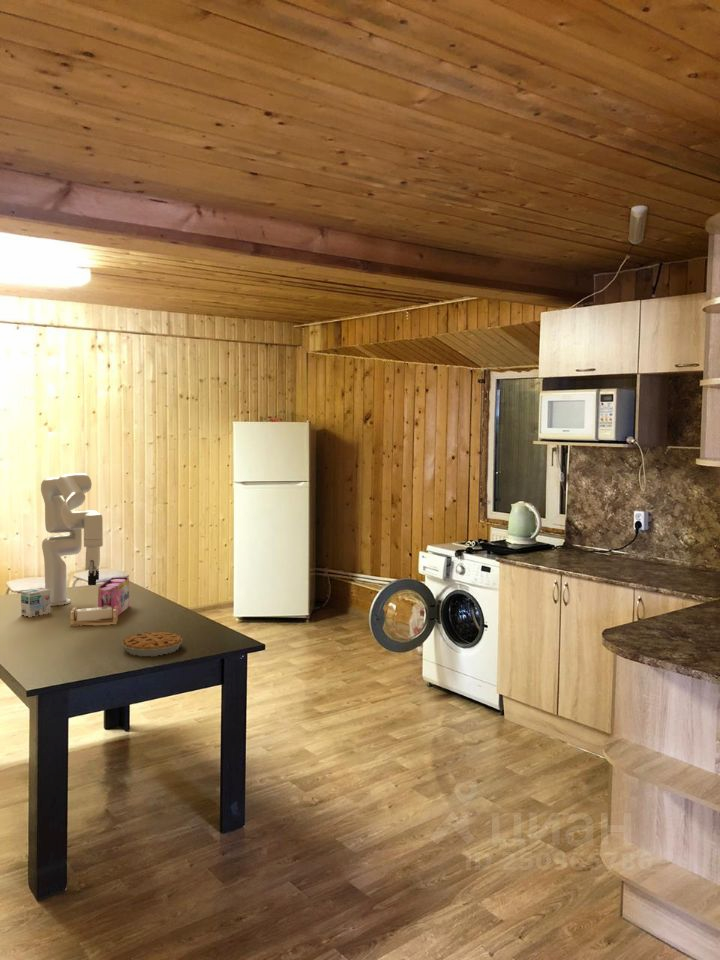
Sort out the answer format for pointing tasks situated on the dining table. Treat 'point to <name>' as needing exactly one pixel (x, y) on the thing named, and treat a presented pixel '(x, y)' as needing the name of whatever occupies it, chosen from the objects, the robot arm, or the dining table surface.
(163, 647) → the pie
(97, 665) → the dining table surface
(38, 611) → the light bulb box
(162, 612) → the dining table surface
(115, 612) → the cradle
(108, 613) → the power strip
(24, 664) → the dining table surface
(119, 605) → the gum box
